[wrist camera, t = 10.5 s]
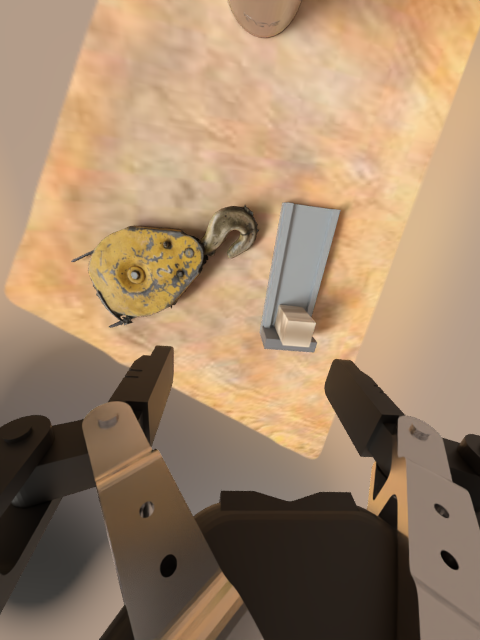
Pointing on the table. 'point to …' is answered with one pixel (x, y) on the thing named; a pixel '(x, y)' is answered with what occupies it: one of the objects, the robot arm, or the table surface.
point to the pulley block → (160, 262)
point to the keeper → (294, 326)
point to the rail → (297, 266)
